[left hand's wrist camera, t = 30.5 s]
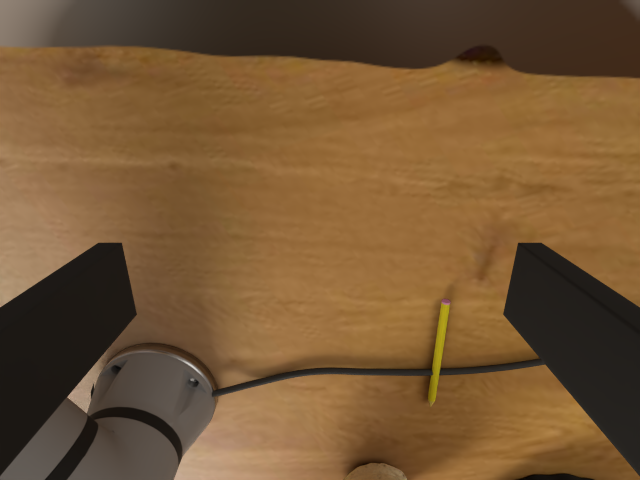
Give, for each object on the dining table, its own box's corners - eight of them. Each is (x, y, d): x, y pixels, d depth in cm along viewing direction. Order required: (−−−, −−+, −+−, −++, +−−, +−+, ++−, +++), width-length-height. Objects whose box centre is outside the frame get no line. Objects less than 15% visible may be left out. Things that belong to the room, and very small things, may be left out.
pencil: (440, 298, 44) (443, 303, 43) (448, 298, 44) (451, 303, 43) (425, 404, 50) (427, 410, 49) (432, 404, 50) (434, 410, 49)
